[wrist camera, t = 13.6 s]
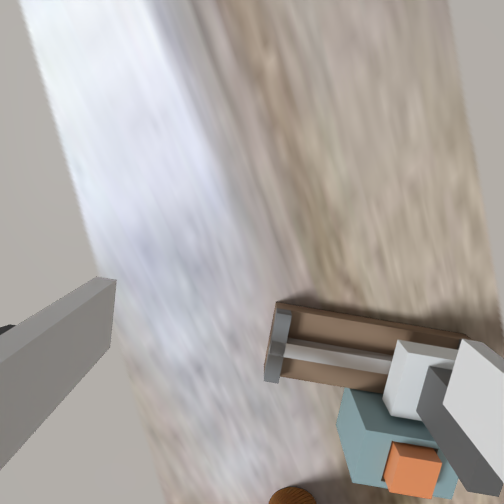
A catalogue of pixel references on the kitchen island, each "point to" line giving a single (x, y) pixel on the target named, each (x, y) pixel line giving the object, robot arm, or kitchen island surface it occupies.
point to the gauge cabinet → (382, 440)
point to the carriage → (436, 410)
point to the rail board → (354, 339)
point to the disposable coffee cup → (292, 496)
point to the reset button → (411, 470)
